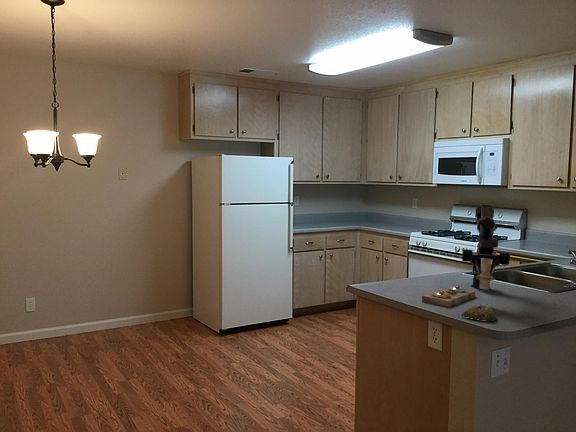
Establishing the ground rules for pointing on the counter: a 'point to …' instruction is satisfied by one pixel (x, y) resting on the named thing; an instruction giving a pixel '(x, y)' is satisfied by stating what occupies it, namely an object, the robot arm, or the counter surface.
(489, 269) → the idler gear
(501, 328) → the counter surface
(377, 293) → the counter surface
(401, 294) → the counter surface
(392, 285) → the counter surface
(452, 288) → the gear
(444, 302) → the gear board
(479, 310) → the bread roll
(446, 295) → the gear
